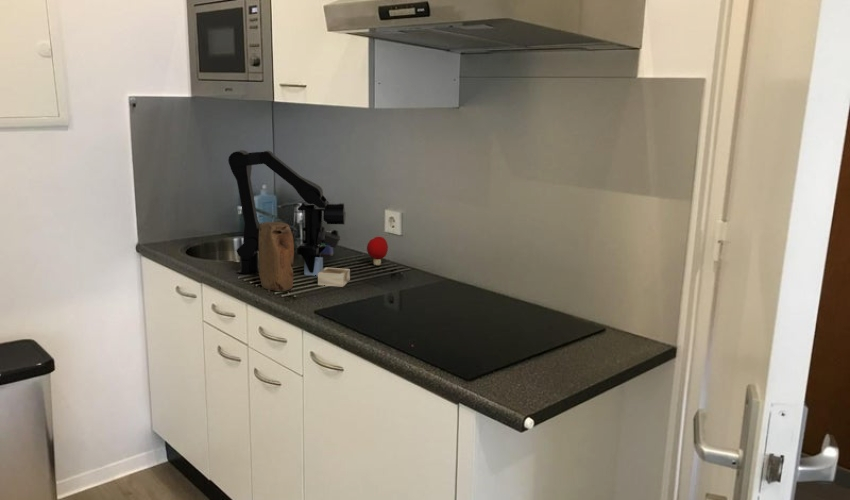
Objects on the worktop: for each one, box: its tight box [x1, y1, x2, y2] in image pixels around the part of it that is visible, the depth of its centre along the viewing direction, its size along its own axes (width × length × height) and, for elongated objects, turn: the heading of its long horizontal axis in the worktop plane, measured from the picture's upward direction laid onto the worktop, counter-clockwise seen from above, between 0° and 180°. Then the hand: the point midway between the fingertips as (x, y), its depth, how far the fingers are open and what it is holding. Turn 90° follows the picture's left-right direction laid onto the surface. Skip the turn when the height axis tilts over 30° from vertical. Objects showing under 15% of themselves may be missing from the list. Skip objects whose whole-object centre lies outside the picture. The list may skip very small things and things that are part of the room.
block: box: [257, 221, 295, 292], centre depth 203 cm, size 11×8×20 cm
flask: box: [320, 230, 334, 257], centre depth 250 cm, size 9×3×11 cm, turn 72°
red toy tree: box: [366, 236, 389, 267], centre depth 234 cm, size 9×7×10 cm
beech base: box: [317, 266, 351, 288], centre depth 212 cm, size 8×8×4 cm
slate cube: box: [303, 256, 324, 277], centre depth 223 cm, size 5×5×5 cm
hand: (313, 270), depth 223 cm, fingers closed on slate cube, 5 cm apart
